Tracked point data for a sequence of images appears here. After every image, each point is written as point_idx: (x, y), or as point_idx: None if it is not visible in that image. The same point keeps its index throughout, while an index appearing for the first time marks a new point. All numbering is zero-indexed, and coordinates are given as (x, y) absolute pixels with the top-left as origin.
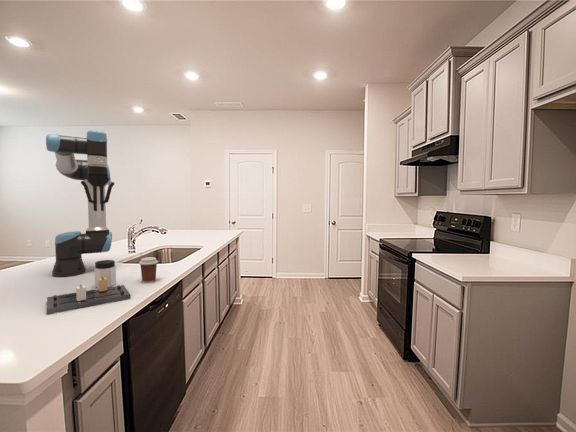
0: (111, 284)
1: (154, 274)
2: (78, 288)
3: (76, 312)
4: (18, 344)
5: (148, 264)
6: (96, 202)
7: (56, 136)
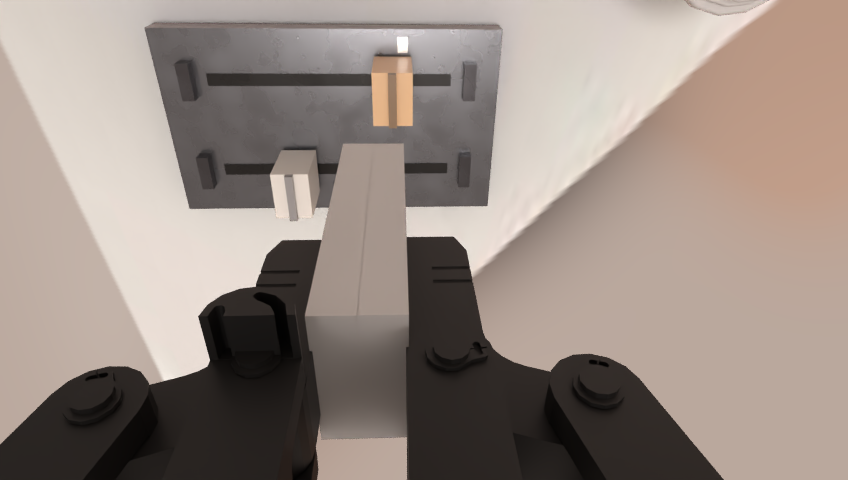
0: None
1: None
2: (283, 216)
3: (292, 232)
4: (182, 365)
5: (704, 10)
6: (305, 471)
7: None
